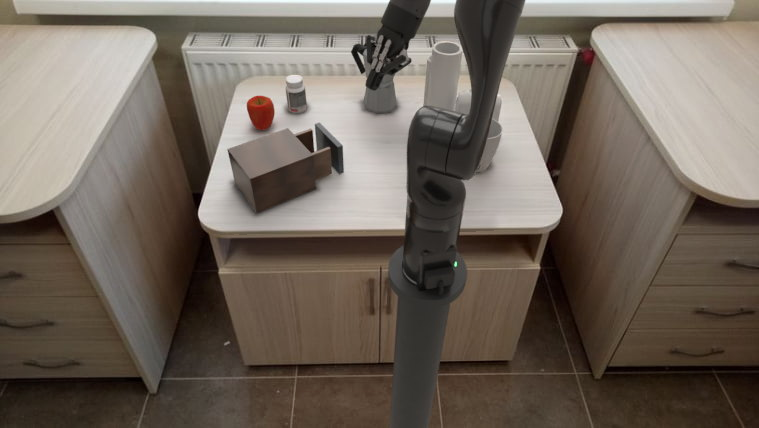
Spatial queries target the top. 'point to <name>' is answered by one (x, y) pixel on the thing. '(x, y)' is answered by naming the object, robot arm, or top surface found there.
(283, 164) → the cabinet
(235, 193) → the top surface
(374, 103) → the coffee maker
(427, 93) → the vase
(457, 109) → the photo printer
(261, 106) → the apple
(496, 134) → the cup
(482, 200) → the top surface
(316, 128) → the drawer
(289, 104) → the pill bottle
